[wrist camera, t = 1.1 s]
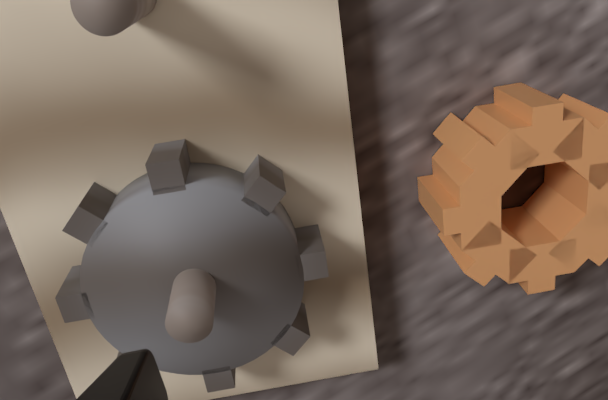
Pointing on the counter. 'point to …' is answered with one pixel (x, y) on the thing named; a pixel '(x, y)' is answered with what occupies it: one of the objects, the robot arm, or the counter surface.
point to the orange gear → (505, 171)
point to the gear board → (225, 122)
